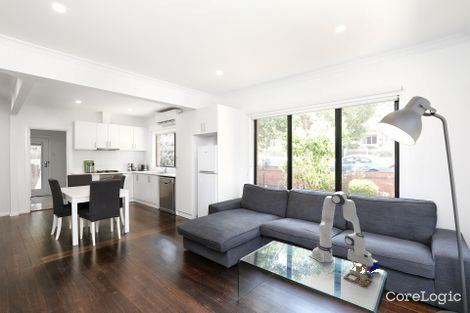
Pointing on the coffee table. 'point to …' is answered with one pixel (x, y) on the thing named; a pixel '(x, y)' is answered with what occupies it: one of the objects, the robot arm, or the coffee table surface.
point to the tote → (356, 271)
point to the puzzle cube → (373, 267)
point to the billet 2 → (363, 279)
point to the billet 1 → (358, 267)
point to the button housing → (369, 275)
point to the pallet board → (357, 280)
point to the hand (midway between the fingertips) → (359, 267)
